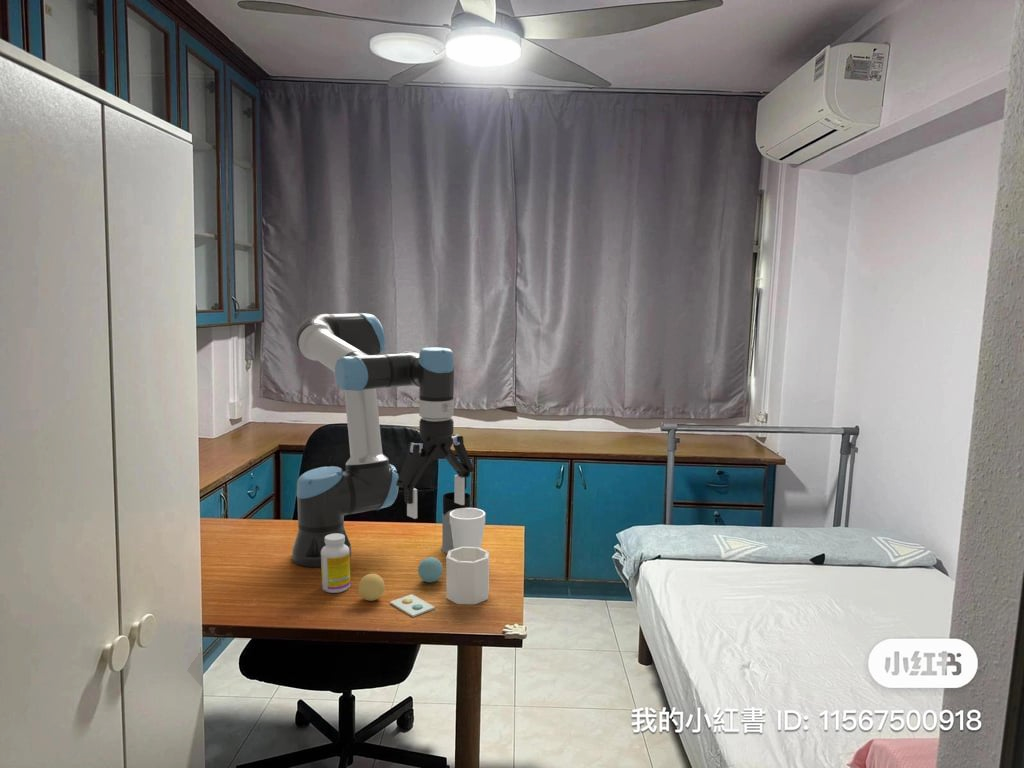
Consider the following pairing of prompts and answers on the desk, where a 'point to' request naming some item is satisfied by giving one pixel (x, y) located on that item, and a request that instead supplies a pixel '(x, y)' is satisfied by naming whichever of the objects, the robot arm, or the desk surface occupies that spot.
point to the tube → (467, 575)
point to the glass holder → (446, 527)
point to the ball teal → (430, 569)
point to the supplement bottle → (335, 564)
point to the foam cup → (467, 527)
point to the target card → (412, 605)
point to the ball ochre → (371, 587)
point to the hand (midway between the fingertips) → (436, 510)
